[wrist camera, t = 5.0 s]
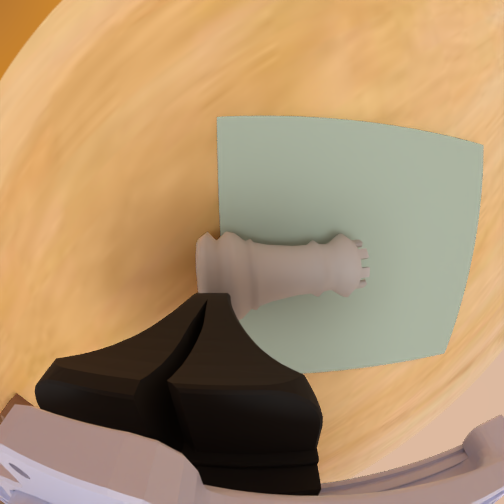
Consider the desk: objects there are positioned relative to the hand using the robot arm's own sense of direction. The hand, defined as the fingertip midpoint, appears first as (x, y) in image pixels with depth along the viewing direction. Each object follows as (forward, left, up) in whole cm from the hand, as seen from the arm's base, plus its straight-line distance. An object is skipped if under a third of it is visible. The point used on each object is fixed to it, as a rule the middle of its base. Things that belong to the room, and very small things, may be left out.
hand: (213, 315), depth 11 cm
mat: (0, -8, -6) cm, 10 cm away
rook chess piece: (0, +1, -3) cm, 3 cm away
